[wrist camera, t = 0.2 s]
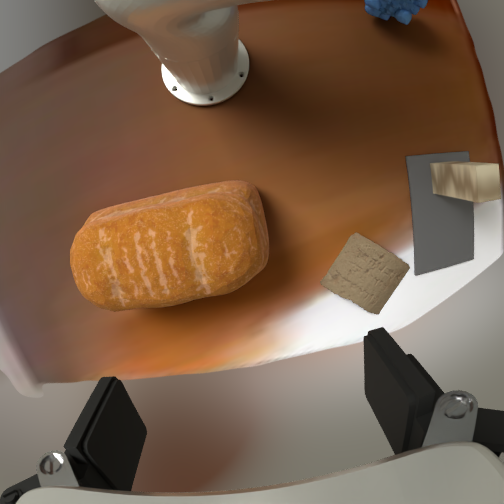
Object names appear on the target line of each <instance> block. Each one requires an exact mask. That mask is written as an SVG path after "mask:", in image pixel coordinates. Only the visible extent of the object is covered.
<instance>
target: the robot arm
mask: <svg viewBox="0 0 504 504" xmlns="http://www.w3.org/2000/svg"><path fill="white" fill-rule="evenodd" d="M94 1H95V2H96V3H97V5H98V6H99V7H100V8H101V9H102V10H103V11H104V12H105V13H106V14H107V15H108V16H109V17H110V18H112V19H113V20H114V21H116V22H118V23H119V24H121V25H122V26H124V27H126V28H128V29H130V30H132V31H134V32H136V33H138V34H139V35H140V36H141V37H142V38H143V39H144V40H145V41H146V43H147V44H148V45H149V46H150V48H151V49H152V51H153V52H154V53H155V54H156V56H157V57H158V58H159V60H160V61H161V62H162V67H161V69H162V77H163V81H164V83H165V85H166V87H167V89H168V90H169V91H170V92H171V93H172V94H173V95H174V96H175V97H176V98H178V99H179V100H181V101H182V102H185V103H188V104H191V105H196V106H208V105H214V104H217V103H220V102H223V101H225V100H227V99H229V98H230V97H232V96H233V95H234V94H235V93H237V92H238V90H239V89H240V88H241V87H242V86H243V84H244V82H245V80H246V78H247V75H248V71H249V57H248V53H247V50H246V48H245V46H244V45H243V44H242V42H241V41H240V40H239V39H238V31H239V14H238V7H237V5H240V4H246V3H253V2H261V1H270V0H94ZM240 75H243V77H240ZM175 89H177V91H174V90H175ZM211 98H213V101H210V99H211ZM364 373H365V395H366V398H367V400H368V402H369V404H370V406H371V408H372V409H373V412H374V414H375V416H376V418H377V420H378V422H379V424H380V426H381V427H382V429H383V431H384V433H385V435H386V437H387V439H388V441H389V443H390V445H391V447H392V449H393V451H394V453H395V455H393V456H390V457H387V458H384V459H380V460H377V461H374V462H371V463H367V464H364V465H361V466H357V467H353V468H350V469H346V470H342V471H338V472H334V473H331V474H326V475H322V476H318V477H313V478H308V479H304V480H299V481H293V482H288V483H282V484H276V485H269V486H262V487H255V488H247V489H237V490H226V491H212V492H188V493H155V492H133V491H131V489H132V485H133V481H134V478H135V474H136V470H137V467H138V463H139V459H140V456H141V452H142V449H143V445H144V442H145V438H146V435H147V430H146V427H145V425H144V423H143V421H142V419H141V418H140V416H139V414H138V412H137V410H136V408H135V407H134V405H133V403H132V401H131V399H130V397H129V395H128V393H127V391H126V389H125V387H124V385H123V383H122V382H121V380H118V379H117V378H116V377H102V378H101V379H100V380H99V382H98V384H97V386H96V387H95V389H94V391H93V393H92V394H91V396H90V398H89V400H88V402H87V403H86V405H85V407H84V409H83V411H82V412H81V414H80V416H79V418H78V420H77V422H76V423H75V425H74V427H73V429H72V431H71V433H70V435H69V437H68V439H67V440H66V443H65V444H64V448H65V449H66V451H65V453H63V452H61V451H51V452H48V453H46V454H44V455H43V456H42V457H41V458H40V459H39V460H38V462H37V465H36V471H37V474H36V475H34V476H32V477H30V478H28V479H26V480H24V481H22V482H20V483H18V484H16V485H14V486H12V487H9V488H8V489H6V490H5V491H4V492H3V494H2V495H1V498H0V504H504V411H500V410H491V409H483V408H478V402H477V400H476V398H475V397H474V396H473V395H472V394H470V393H468V392H465V391H460V390H458V391H450V392H447V393H444V392H443V391H442V390H441V389H440V387H439V386H438V385H437V384H436V382H435V381H434V380H433V379H432V377H431V376H430V375H429V374H428V373H427V372H426V370H425V369H424V368H423V367H422V365H421V364H420V363H419V362H418V361H417V359H416V358H415V357H414V356H413V355H412V354H408V355H406V354H405V353H404V351H403V350H402V349H401V348H400V347H399V345H398V344H397V343H396V342H395V341H394V339H393V338H392V337H391V336H390V335H389V333H388V332H387V331H386V330H385V329H384V328H383V327H381V328H378V329H374V330H371V331H369V332H368V335H367V336H364Z"/></svg>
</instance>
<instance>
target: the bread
mask: <svg viewBox="0 0 504 504" xmlns="http://www.w3.org/2000/svg"><path fill="white" fill-rule="evenodd" d="M268 258H269V237H268V230H267V224H266V219H265V214H264V210H263V206H262V202H261V199H260V196H259V193H258V190H257V189H256V187H254V186H253V185H252V184H250V183H248V182H245V181H240V180H234V181H224V182H219V183H213V184H207V185H201V186H195V187H190V188H185V189H181V190H177V191H173V192H169V193H165V194H161V195H157V196H153V197H148V198H144V199H140V200H136V201H132V202H127V203H123V204H119V205H115V206H111V207H108V208H105V209H102V210H99V211H96V212H94V213H93V214H91V215H90V216H89V218H88V219H87V221H86V222H85V224H84V226H83V227H82V228H81V229H80V230H79V231H78V232H77V234H76V236H75V239H74V242H73V245H72V247H71V250H70V264H71V268H72V272H73V276H74V279H75V282H76V285H77V287H78V289H79V291H80V292H81V293H82V295H83V296H84V297H85V298H86V299H87V300H89V301H90V302H91V303H93V304H94V305H96V306H97V307H99V308H102V309H106V310H110V311H114V312H116V311H123V310H130V309H137V308H161V307H168V306H174V305H178V304H182V303H186V302H189V301H192V300H195V299H200V298H205V297H211V296H218V295H224V294H228V293H230V292H233V291H235V290H237V289H238V288H240V287H241V286H243V285H244V284H246V283H247V282H248V281H249V280H251V279H252V278H253V277H254V276H255V275H256V274H258V273H259V272H260V271H261V270H262V269H263V268H264V267H265V266H266V264H267V261H268Z"/></svg>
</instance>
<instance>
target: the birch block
mask: <svg viewBox="0 0 504 504" xmlns="http://www.w3.org/2000/svg"><path fill="white" fill-rule="evenodd" d="M430 168H431V177H432V186H433V193H434V194H439V195H444V196H449V197H454V198H459V199H463V200H468V201H473V202H477V203H481V202H486V201H492V200H497V199H501V192H500V176H499V164H494V163H478V162H459V161H449V162H438V163H430Z"/></svg>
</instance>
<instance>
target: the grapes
mask: <svg viewBox="0 0 504 504" xmlns="http://www.w3.org/2000/svg"><path fill="white" fill-rule="evenodd" d="M427 2H428V0H365V4H366V5H365V11H366V12H367V13H368V14H370V15H372V16H375V17H379V18H381V19H384V20H388V19H389V18H390V16H393V17H395V18H396V19H397V21H399V22H401V23H403V24H406V25H408V23H409V22H410V20H411V18H412V14H414V15H416V14H417V13H418V11H419V9H420V7H421V8H424V7H425V6H426V4H427Z"/></svg>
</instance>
